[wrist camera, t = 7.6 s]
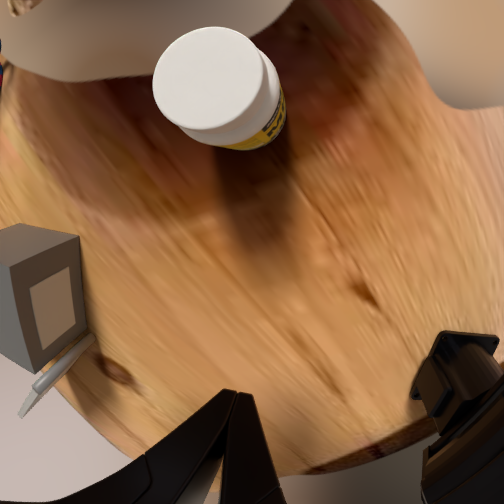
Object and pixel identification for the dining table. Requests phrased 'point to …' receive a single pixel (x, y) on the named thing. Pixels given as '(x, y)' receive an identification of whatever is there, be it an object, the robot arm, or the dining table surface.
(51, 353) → the camera body
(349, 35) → the dining table surface
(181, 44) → the supplement bottle
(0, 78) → the mug
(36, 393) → the side door
